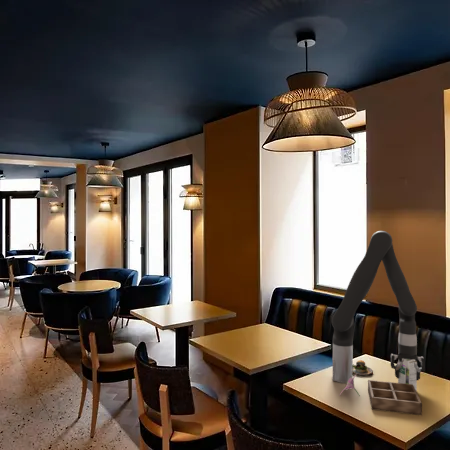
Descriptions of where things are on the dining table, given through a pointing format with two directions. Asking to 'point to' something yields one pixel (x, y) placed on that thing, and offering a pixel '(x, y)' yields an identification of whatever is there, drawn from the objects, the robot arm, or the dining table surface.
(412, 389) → the caddy
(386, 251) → the robot arm
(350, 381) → the lily
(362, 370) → the burger
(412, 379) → the syrup box
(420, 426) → the dining table surface
